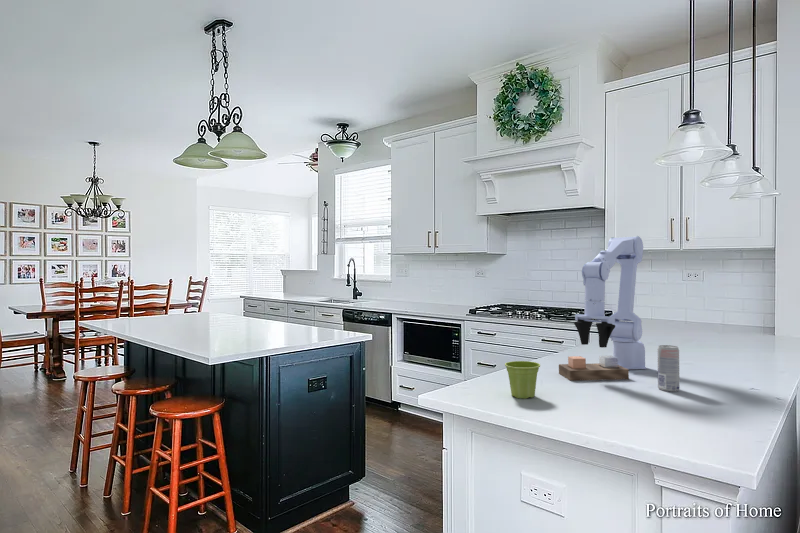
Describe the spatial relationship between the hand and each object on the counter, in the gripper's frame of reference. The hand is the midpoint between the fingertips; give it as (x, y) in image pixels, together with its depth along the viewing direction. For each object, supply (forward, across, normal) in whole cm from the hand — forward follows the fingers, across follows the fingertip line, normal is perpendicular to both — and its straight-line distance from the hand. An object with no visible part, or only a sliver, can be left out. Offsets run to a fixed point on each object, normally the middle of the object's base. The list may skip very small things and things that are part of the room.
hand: (593, 345), depth 157 cm
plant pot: (+13, +6, -30) cm, 33 cm away
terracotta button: (+7, -6, -1) cm, 9 cm away
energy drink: (+10, +18, +11) cm, 23 cm away
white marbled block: (+7, -2, +8) cm, 11 cm away
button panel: (+10, -4, +4) cm, 11 cm away
